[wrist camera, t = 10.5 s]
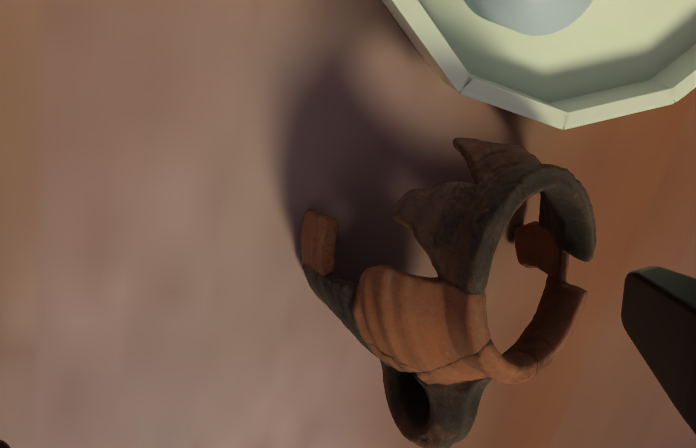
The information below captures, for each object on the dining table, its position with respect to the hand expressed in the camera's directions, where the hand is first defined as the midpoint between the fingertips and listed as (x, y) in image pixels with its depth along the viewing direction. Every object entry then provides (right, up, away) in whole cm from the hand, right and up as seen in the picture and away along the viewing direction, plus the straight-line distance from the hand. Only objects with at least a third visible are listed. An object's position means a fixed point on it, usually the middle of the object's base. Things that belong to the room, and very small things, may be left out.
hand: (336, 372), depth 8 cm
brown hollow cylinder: (+3, +1, +16) cm, 16 cm away
